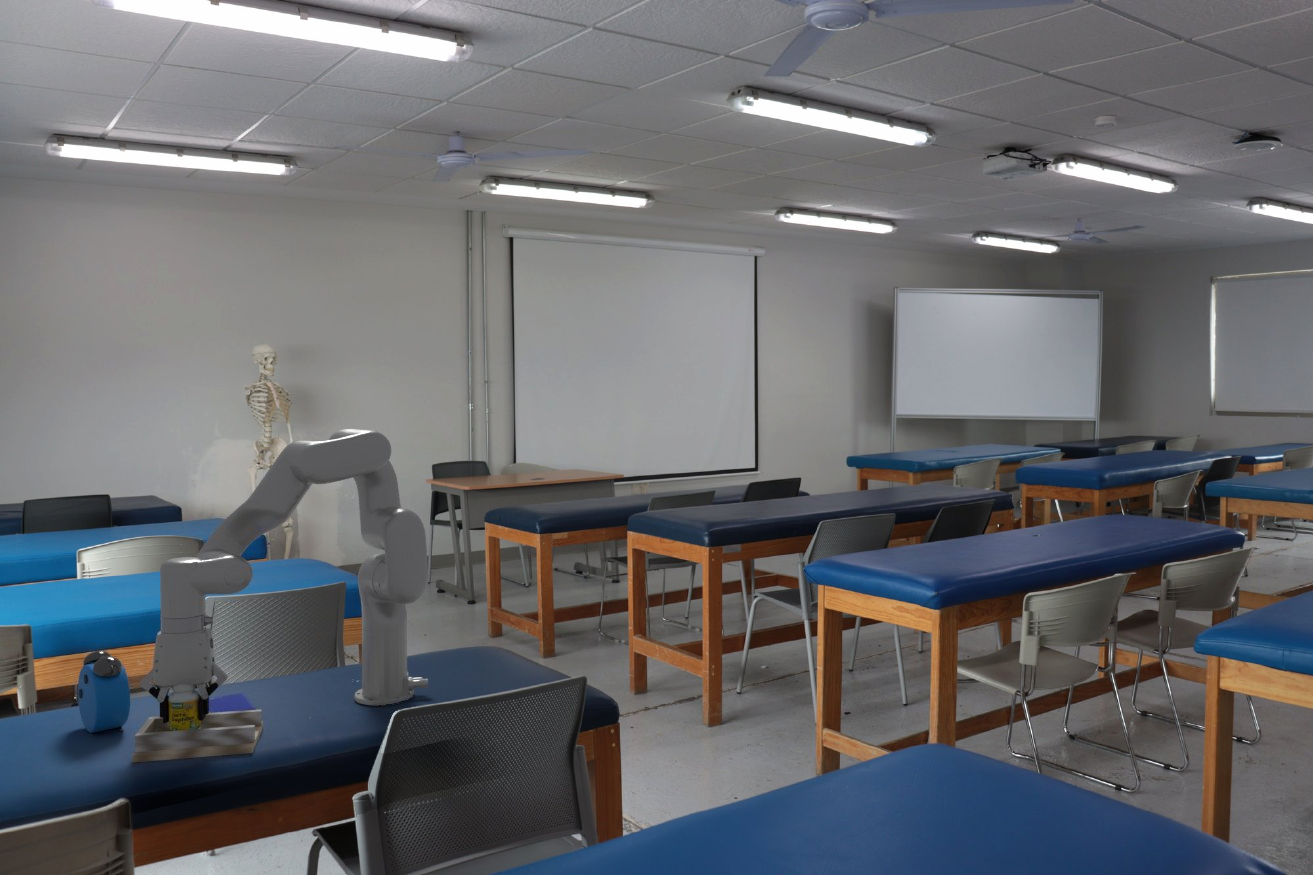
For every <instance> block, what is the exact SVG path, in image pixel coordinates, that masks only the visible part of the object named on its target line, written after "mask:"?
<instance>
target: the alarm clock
mask: <svg viewBox="0 0 1313 875" xmlns="http://www.w3.org/2000/svg"><path fill="white" fill-rule="evenodd" d="M82 665H83V666H81V669H80V672H79V675H78V682H77V700H78V708H79V714H80V720H81V721H82V724H83V727H84V728H85V730H86V731H87V732H88V733H91V734H93V733H97V732H102V731H106V730H112V729H116V728H118V729H119V731H120V732H122V731H123V728H122V727H123V726H125V725H126V723H128V722H127V721H128V719H129V716H130V712H131V690H130V689H131V688H130V684H129V678H128V674H127V671H126V669H125V666H124V664H123V663H122V661H120V660H119V658H118V657H114V656H111V654H110V653H109V652H108V651H105V650H97V649H96V650H94V651H92V652H90V653H88V654H87V655H86V656H85V657H84V659H83V661H82Z"/></svg>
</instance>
